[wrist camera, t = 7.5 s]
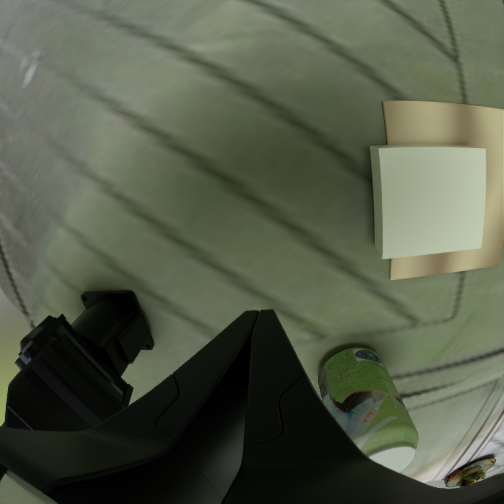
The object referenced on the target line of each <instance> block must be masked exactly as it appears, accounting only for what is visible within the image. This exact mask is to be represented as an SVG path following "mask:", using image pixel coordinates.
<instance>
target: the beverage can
mask: <svg viewBox="0 0 504 504" xmlns="http://www.w3.org/2000/svg"><path fill="white" fill-rule="evenodd" d="M318 383H319V388H320V392H321V397H322V401H323V403H324V404H325V406H326V407H327V409H328V410H329V411H330V413H331V414H332V415H333V416H334V418H335V419H336V420H337V422H338V423H339V424H340V425H341V427H342V428H343V429H344V430H345V432H346V433H347V434H348V435H349V437H350V438H351V439H352V440H353V442H354V443H355V444H356V445H357V446H358V448H359V449H360V450H361V451H362V452H363V453H364V454H365V455H366V456H368V457H369V458H370V459H372V460H373V461H375V462H377V463H379V464H381V465H383V466H385V467H387V468H390V469H392V470H394V471H396V472H398V473H402V472H404V471H405V470H406V469H407V468H409V467H410V466H411V465H412V463H413V462H414V461H415V459H416V456H417V451H416V448H417V444H418V432H417V430H416V428H415V426H414V424H413V422H412V420H411V418H410V416H409V414H408V412H407V409H406V407H405V405H404V403H403V401H402V399H401V397H400V395H399V393H398V391H397V389H396V387H395V386H394V384H393V382H392V380H391V378H390V376H389V374H388V372H387V370H386V368H385V366H384V364H383V362H382V361H381V359H380V357H379V355H378V354H377V353H376V352H374V351H372V350H370V349H367V348H350V349H346V350H343V351H341V352H339V353H337V354H335V355H334V356H332V357H331V358H330V359H329V360H328V361H327V362H326V363H325V364H324V365H323V367H322V368H321V370H320V372H319V376H318Z"/></svg>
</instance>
